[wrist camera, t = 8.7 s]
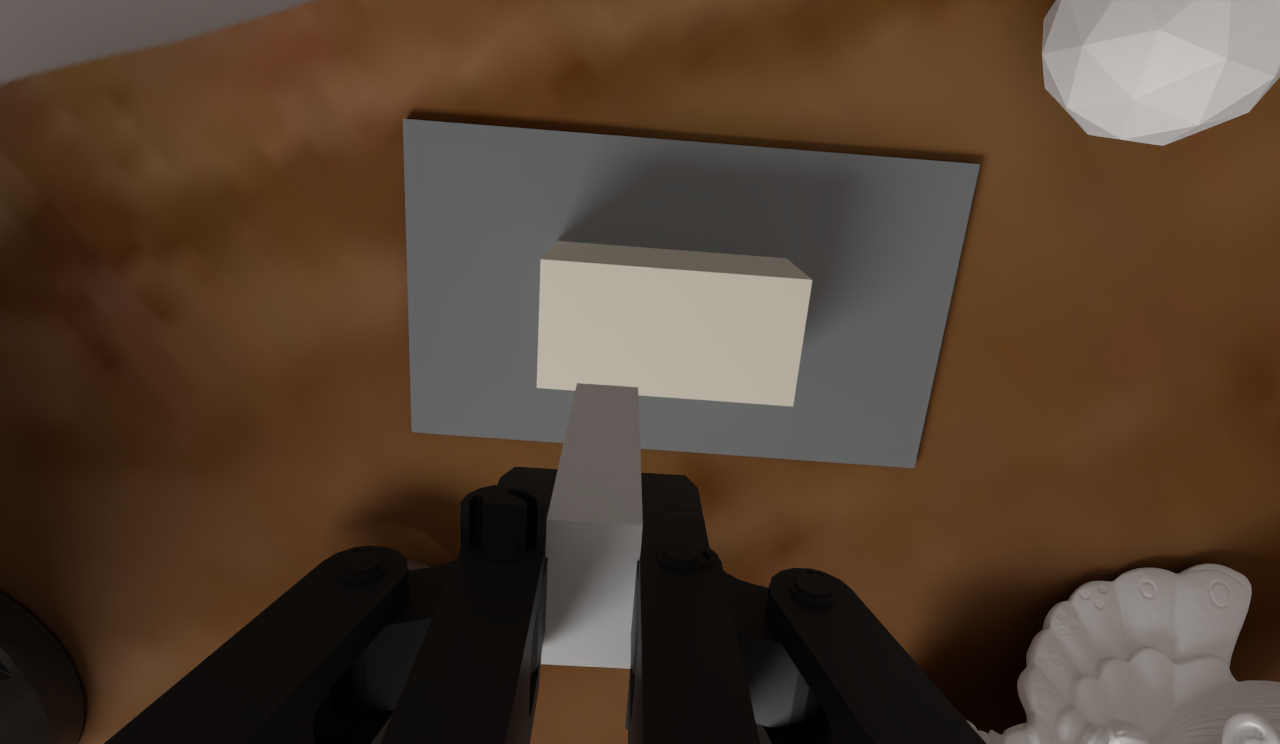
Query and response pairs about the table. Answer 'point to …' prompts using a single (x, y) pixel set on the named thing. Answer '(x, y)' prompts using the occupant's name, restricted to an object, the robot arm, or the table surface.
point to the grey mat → (691, 221)
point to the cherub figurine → (1144, 665)
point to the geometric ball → (1159, 63)
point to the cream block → (671, 322)
